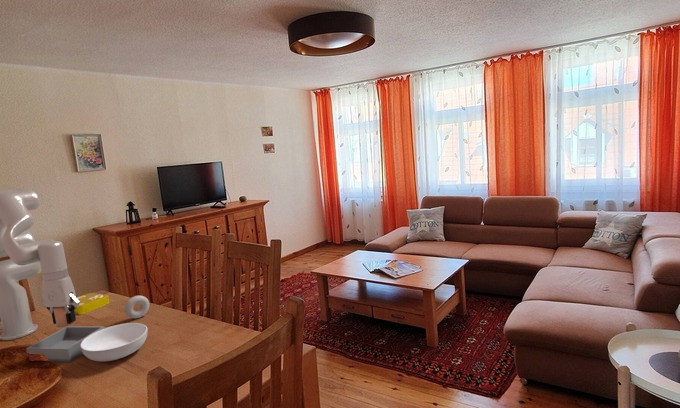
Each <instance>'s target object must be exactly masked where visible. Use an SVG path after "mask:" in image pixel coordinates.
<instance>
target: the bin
mask: <svg viewBox="0 0 680 408" xmlns="http://www.w3.org/2000/svg"><path fill="white" fill-rule="evenodd" d="M105 328H106V326H99V325H98V326H95V325H94V326H93V325H92V326H91V325H90V326H89V325H88V326H87V325H86V326H83V325H79V326H78V325H76V326H73V325H69V326H66V327H62V328H61V329H59V330H58V331H55V332H54V333H52V334H50V335H49V336H46V337H45V338H42V339H41V340H39V341H37V342H35V343H33V344H32V345H30V346H28V347H26V353H29V354H40V353H42V354H44V355H45V357H46V358H47V359H48V360H49V361H51V362H50V363H72V362H73V361H75V360H76V359H78V358H79V357H80V356H83V355H84V354H83V352H82V350H81V347H80V344H81V342H82V341H83V340H84V339H85V338H86V337H88V336H89V335H91V334H93V333H95V332H97V331H99V330H102V329H105Z"/></svg>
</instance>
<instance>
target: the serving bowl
mask: <svg viewBox="0 0 680 408" xmlns="http://www.w3.org/2000/svg"><path fill="white" fill-rule="evenodd" d="M147 337H148V327H147V325H145V324H144V323H140V322H126V323H120V324H115V325H112V326H108V327H105V329H102V330H99V331H97V332H95V333H93V334H91V335H89V336H88V337H86V338H85V339H84V340H83V341H82V342H81V344H80V347H81V350H82V352H83V354H82V355H83V356H85V357H86V358H87V359H89V360H91V361H95V362H110V361H115V360H119V359H123V358H125V357H127V356H129V355H131V354H133V353H135V352H137V350H139V348H141V347H142V346H143V345H144V343H145V342H146V339H147Z"/></svg>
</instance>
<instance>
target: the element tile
mask: <svg viewBox="0 0 680 408" xmlns="http://www.w3.org/2000/svg"><path fill="white" fill-rule="evenodd" d="M76 298H77V299H78V300H79V301H80V304H79V305H78V306H77V307H76V310H75V311H74V312H75V316H76V315H77V316H79V315H84V314H87V313H90V312H92V311H94V310H97V309H100V308H101V307H103V306H107V305H108V304H110V300H109V295H108V294H102V293H97V292H96V293H94V292H89V293H86V294H83V295H81V296H78V297H76ZM106 304H107V305H106Z"/></svg>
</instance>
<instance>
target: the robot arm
mask: <svg viewBox="0 0 680 408" xmlns="http://www.w3.org/2000/svg"><path fill="white" fill-rule="evenodd" d="M40 204H41V200H40V197H39V196H38V193H36V192H35V191H34V190H33V189H28V188H27V189H25V188H23V189H22V188H15V189H14V188H13V189H5V190H0V259H1V258H6V257H9V259H4V260H1V261H0V322H1V323H0V331H1V333H0V340H1V341H10V340H11V341H12V340H15V339H20V338H23V337H26V336H28V335H31V334H33V333H35V332H36V331H38V329H39V326H38V324H36V323H33V320H32V314H31V310H30V303H29V298H28V294H27V291H26V289H25V287H23V286H22V285H21V284H19V283H17V282H19V281H22V280H26V279H30V278H32V277H35V276H38V275H40V274H41V276H42V279H43V280H41V297H42V305H43V306H44V307H45V308H46V309H47V310H48V311H49V314H51V318H52V322H53V323H52V324H54V325H56V320H55V315H54V310H53V308H54V307H64V308H65V310H66V312H67V313H66V319H67V323H68V324H70V323H72V322H74V323H75V321H77V320H76V319H77V317H76V314H75V312H74V311H75V310H76V307H77V306H78V305H79V304H80V301H79V300H78V299H77V298H78V297H77V296H76V290H75V287H74V284H73V281H72V278H71V276H70V275H69V270H68V269H69V268H68V265H67V259H66V254H65V248H64V244H63V242H62V241H60V240H54V239H52V238H47V239H41V240H36V239H35V237H34V235H33V233H31V232H30V231H28V230H29V229H31V228H32V227H33V225H34V223H35V217H34V216H33V215H32V214H31V212H30V211H33V210H36V209H38V208H39V206H40ZM69 305H70V308H69V307H68V306H69Z"/></svg>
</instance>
